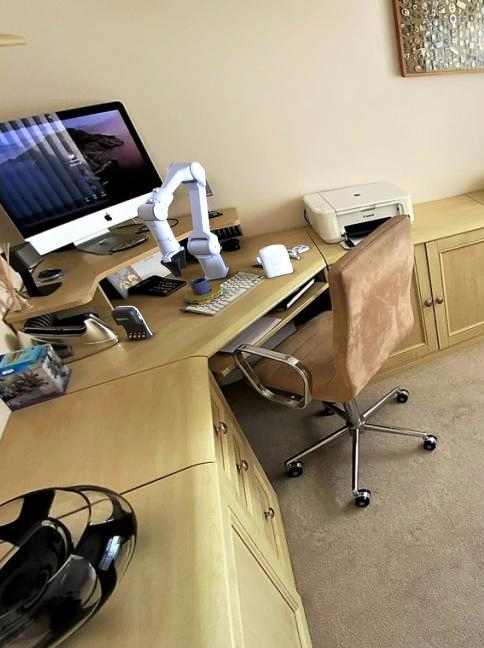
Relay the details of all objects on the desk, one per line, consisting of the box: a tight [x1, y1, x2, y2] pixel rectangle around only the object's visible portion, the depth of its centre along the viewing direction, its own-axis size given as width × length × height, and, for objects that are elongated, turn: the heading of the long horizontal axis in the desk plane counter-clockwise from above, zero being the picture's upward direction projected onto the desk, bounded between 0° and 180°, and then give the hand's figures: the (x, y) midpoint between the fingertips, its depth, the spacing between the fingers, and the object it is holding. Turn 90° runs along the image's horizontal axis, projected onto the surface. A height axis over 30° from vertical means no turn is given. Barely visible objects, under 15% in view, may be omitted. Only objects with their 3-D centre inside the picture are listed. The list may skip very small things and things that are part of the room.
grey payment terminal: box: [110, 305, 154, 341], centre depth 135 cm, size 7×4×11 cm, turn 92°
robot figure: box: [255, 244, 310, 266], centre depth 189 cm, size 16×3×22 cm
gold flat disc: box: [183, 283, 224, 305], centre depth 160 cm, size 12×12×2 cm
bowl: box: [188, 277, 211, 295], centre depth 158 cm, size 6×6×4 cm
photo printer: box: [258, 244, 294, 279], centre depth 171 cm, size 10×4×12 cm, turn 123°
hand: (181, 272), depth 157 cm, fingers open, 7 cm apart
